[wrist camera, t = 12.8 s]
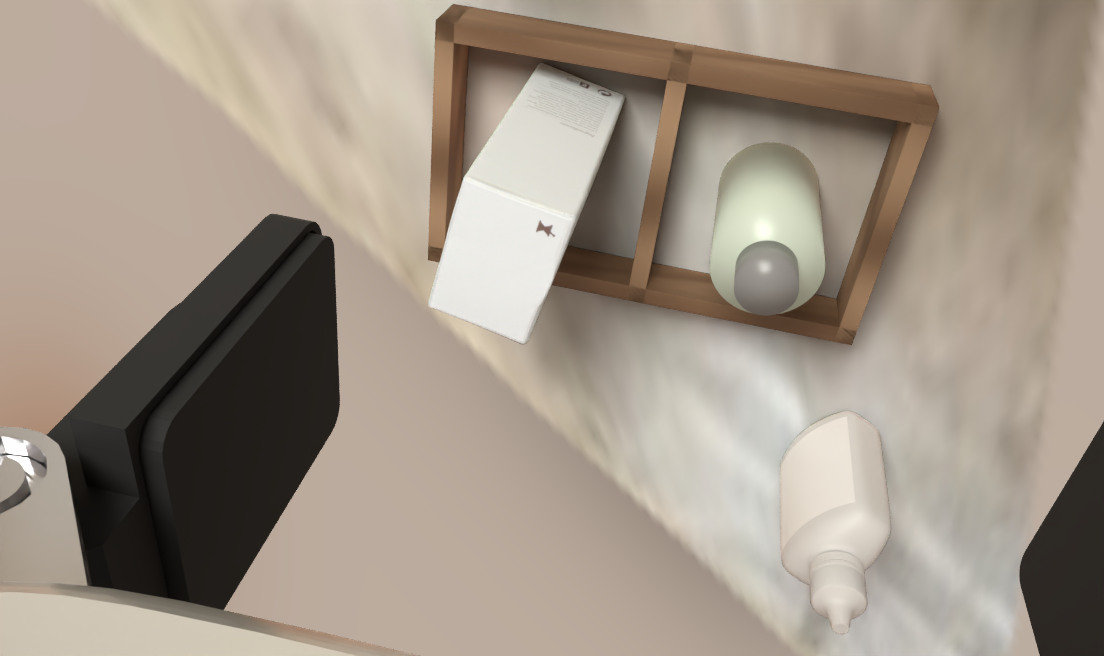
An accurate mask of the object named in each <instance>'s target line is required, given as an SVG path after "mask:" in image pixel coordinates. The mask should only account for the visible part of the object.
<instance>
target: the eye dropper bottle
mask: <svg viewBox="0 0 1104 656" xmlns="http://www.w3.org/2000/svg"><path fill="white" fill-rule="evenodd" d="M890 533H891V517H890V507H889V499H888V492H887V484H886V477H885V469H884V462H883V455H882V448H881V441H880V434H879V431H878V430H877V429H876V427H875V426H873V425H872V424H871V423H869V422H868V421H866V420H865V419H864V418H862V417H861V416H859V415H858V414H856V413H854V412H851V411H843V412H839V413H836V414H833V415H831V416H828V417H826V418H824V419H822V420H820V421H818V422H816V423H814V424H813V425H811V426H810V427H808V428H807V429H805V430H804V431H803V432H802V433H801V434H800V435H799V436H797V438H796V439H795V440H794V441H793V442H792V443H791V445H790V446H789V447H788V449H787V451H786V452H785V454H784V456H783V458H782V461H781V464H780V535H781V559H782V564H783V566H784V568H785V569H786V570H787V571H788V572H789V573H790V574H791V575H792V576H794V577H795V578H797V579H798V580H800V581H801V582H803V583H805V584H807V585H810V603H811V605H812V607H813V609H814V610H815V611H816V612H817V613H818V614H820V615H821V616H823V617H825V618H828V619H829V620H830V624H831V627H832V630H833V631H834V632H835V633H837V634H845V633H847V632H848V631H849V627H850V621H851V619H853V618H856V617H858V616H859V615H861V614H862V613H863V612H864V611H865V609H866V607H867V592H866V582H865V572H864V571H865V570H866V569H867V568H868V567H869V566H870V565H871V564H872V563H873V562H874V561H875V560H876V558H877V557H878V556H879V554H880V553H881V551H882V550H883V548H884V546H885V545H886V543H887V541H888V538H889V536H890Z"/></svg>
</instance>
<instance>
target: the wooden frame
mask: <svg viewBox="0 0 1104 656" xmlns="http://www.w3.org/2000/svg"><path fill="white" fill-rule="evenodd" d="M469 46H474V47H480V48H486V49H492V50H497V51H503V52H509V53H514V54H520V55H526V56H532V57H537V58H543V59H549V60H554V61H560V62H566V63H571V64H577V65H583V66H589V67H594V68H600V69H606V70H611V71H617V72H623V73H629V74H634V75H640V76H646V77H651V78H657V79H663V80H667V84H666V89H665V95H664V100H663V105H662V111H661V116H660V122H659V127H658V132H657V138H656V143H655V149H654V154H653V160H652V165H651V170H650V176H649V181H648V187H647V192H646V197H645V203H644V208H643V214H642V219H641V224H640V230H639V235H638V241H637V246H636V251H635V257H634V259H631V258H625V257H620V256H615V255H610V254H605V253H600V252H595V251H590V250H585V249H580V248H574V247H569V246H567V248H566V250H565V253H564V255H563V258H562V260H561V263H560V265H559V268H558V270H557V273H556V275H555V278H554V280H553V283H552V285H555V286H560V287H565V288H570V289H575V290H580V291H585V292H590V293H595V294H600V295H605V296H610V297H615V298H620V299H625V300H630V301H635V302H640V303H645V304H650V305H654V306H659V307H664V308H669V309H674V310H679V311H684V312H689V313H694V314H699V315H704V316H709V317H714V318H719V319H724V320H729V321H734V322H739V323H744V324H749V325H754V326H759V327H764V328H769V329H774V330H779V331H784V332H789V333H794V334H799V335H804V336H809V337H814V338H819V339H824V340H829V341H834V342H839V343H844V344H849V345H852V343H853V340H854V338H855V335H856V332H857V329H858V327H859V324H860V321H861V319H862V316H863V313H864V311H865V308H866V305H867V302H868V300H869V297H870V294H871V292H872V289H873V286H874V283H875V281H876V278H877V275H878V273H879V270H880V267H881V265H882V262H883V259H884V256H885V254H886V251H887V248H888V246H889V243H890V240H891V237H892V235H893V232H894V229H895V227H896V224H897V221H898V218H899V216H900V213H901V210H902V208H903V205H904V202H905V200H906V197H907V194H908V191H909V189H910V186H911V183H912V181H913V178H914V175H915V172H916V170H917V167H918V164H919V162H920V159H921V156H922V153H923V151H924V148H925V145H926V143H927V140H928V137H929V135H930V132H931V129H932V126H933V124H934V121H935V118H936V116H937V113H938V110H939V105H938V103H937V100H936V98H935V95H934V93H933V90H932V87H931V86H930V85H924V84H918V83H912V82H906V81H900V80H894V79H889V78H883V77H877V76H871V75H865V74H859V73H853V72H848V71H842V70H836V69H830V68H824V67H818V66H812V65H807V64H801V63H795V62H789V61H783V60H777V59H771V58H766V57H760V56H754V55H748V54H742V53H736V52H731V51H725V50H719V49H713V48H707V47H701V46H695V45H690V44H684V43H678V42H672V41H666V40H660V39H654V38H649V37H643V36H637V35H631V34H625V33H619V32H613V31H608V30H602V29H596V28H590V27H584V26H578V25H573V24H567V23H561V22H555V21H549V20H543V19H537V18H532V17H526V16H520V15H514V14H508V13H502V12H496V11H491V10H485V9H479V8H473V7H467V6H461V5H455V4H453V5H452V6H451V7H450V8H448V9H447V10H446V11H445V12H444V13H443V14H442V15H441V16H440V17H439V18H438V19H437V20H436V31H435V62H434V92H433V123H432V154H431V184H430V215H429V246H428V260H430V261H435V262H440V259H441V255H442V252H443V248H444V244H445V240H446V236H447V232H448V228H449V224H450V220H451V217H452V213H453V210H454V207H455V203H456V200H457V197H458V194H459V191H460V188H461V181H462V163H463V145H464V126H465V108H466V89H467V71H468V52H469ZM687 84H691V85H697V86H703V87H708V88H714V89H720V90H725V91H731V92H737V93H743V94H748V95H754V96H760V97H765V98H771V99H777V100H783V101H788V102H794V103H800V104H805V105H811V106H817V107H822V108H828V109H834V110H840V111H845V112H851V113H857V114H862V115H868V116H874V117H880V118H885V119H891V120H897V121H898V122H897V125H896V128H895V130H894V133H893V136H892V139H891V142H890V145H889V148H888V151H887V154H886V157H885V159H884V162H883V165H882V168H881V171H880V174H879V177H878V180H877V183H876V186H875V189H874V191H873V194H872V197H871V200H870V203H869V206H868V209H867V212H866V215H865V218H864V220H863V223H862V226H861V229H860V232H859V235H858V238H857V241H856V244H855V247H854V249H853V252H852V255H851V258H850V261H849V264H848V267H847V270H846V273H845V276H844V278H843V281H842V284H841V287H840V290H839V293H838V296H837V299H835V298H829V297H824V296H819V295H813V296H812V297H811V298H810V299H809V300H808V301H807V302H805V303H804V304H803V305H801V306H799V307H797V308H795V309H793V310H791V311H788V312H785V313H780V314H776V315H769V316H763V315H757V314H753V313H749V312H746V311H743V310H740V309H738V308H736V307H734V306H733V305H731V304H730V303H728V302H727V301H726V300H725V299H724V298H723V297H722V296H721V295H720V294H719V293H718V291H717V290H716V288H715V286H714V284H713V282H712V279H711V275H710V274H707V273H702V272H697V271H692V270H687V269H682V268H676V267H671V266H666V265H661V264H656V263H652V259H653V254H654V249H655V244H656V239H657V234H658V229H659V224H660V219H661V214H662V209H663V204H664V199H665V194H666V189H667V184H668V179H669V174H670V169H671V164H672V159H673V154H674V149H675V143H676V138H677V133H678V128H679V123H680V118H681V113H682V108H683V103H684V98H685V93H686V88H687Z"/></svg>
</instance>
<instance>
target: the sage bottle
mask: <svg viewBox="0 0 1104 656" xmlns="http://www.w3.org/2000/svg"><path fill="white" fill-rule="evenodd" d="M824 273H825V255H824V243H823V231H822V219H821V208H820V196H819V184H818V177H817V173H816V170H815V168H814V166H813V165H812V163H811V162H810V160H809V159H808V158H807V157H806V156H805V155H804V154H803V153H801V152H800V151H799V150H797V149H795V148H793V147H791V146H788V145H785V144H781V143H760V144H756V145H753V146H750V147H747V148H746V149H744V150H742V151H740V152H739V153H737V154H736V155H735V156H734V157H733V158H732V159H731V160H730V161H729V162H728V163H727V165H726V166H725V168H724V170H723V172H722V174H721V178H720V182H719V190H718V198H717V206H716V215H715V223H714V231H713V240H712V248H711V256H710V275H711V279H712V282H713V284H714V286H715V288H716V290H717V291H718V293H719V294H720V295H721V296H722V297H723V298H724V299H725V300H726V301H727V302H728V303H730V304H731V305H733V306H734V307H736V308H738V309H740V310H743V311H746V312H749V313H753V314H757V315H763V316H769V315H776V314H780V313H785V312H788V311H791V310H793V309H795V308H797V307H799V306H801V305H803V304H804V303H805V302H807V301H808V300H809V299H810V298H811V297H812V296H813V295H814V294H815V293H816V291H817V290H818V288H819V287H820V285H821V283H822V280H823V277H824Z"/></svg>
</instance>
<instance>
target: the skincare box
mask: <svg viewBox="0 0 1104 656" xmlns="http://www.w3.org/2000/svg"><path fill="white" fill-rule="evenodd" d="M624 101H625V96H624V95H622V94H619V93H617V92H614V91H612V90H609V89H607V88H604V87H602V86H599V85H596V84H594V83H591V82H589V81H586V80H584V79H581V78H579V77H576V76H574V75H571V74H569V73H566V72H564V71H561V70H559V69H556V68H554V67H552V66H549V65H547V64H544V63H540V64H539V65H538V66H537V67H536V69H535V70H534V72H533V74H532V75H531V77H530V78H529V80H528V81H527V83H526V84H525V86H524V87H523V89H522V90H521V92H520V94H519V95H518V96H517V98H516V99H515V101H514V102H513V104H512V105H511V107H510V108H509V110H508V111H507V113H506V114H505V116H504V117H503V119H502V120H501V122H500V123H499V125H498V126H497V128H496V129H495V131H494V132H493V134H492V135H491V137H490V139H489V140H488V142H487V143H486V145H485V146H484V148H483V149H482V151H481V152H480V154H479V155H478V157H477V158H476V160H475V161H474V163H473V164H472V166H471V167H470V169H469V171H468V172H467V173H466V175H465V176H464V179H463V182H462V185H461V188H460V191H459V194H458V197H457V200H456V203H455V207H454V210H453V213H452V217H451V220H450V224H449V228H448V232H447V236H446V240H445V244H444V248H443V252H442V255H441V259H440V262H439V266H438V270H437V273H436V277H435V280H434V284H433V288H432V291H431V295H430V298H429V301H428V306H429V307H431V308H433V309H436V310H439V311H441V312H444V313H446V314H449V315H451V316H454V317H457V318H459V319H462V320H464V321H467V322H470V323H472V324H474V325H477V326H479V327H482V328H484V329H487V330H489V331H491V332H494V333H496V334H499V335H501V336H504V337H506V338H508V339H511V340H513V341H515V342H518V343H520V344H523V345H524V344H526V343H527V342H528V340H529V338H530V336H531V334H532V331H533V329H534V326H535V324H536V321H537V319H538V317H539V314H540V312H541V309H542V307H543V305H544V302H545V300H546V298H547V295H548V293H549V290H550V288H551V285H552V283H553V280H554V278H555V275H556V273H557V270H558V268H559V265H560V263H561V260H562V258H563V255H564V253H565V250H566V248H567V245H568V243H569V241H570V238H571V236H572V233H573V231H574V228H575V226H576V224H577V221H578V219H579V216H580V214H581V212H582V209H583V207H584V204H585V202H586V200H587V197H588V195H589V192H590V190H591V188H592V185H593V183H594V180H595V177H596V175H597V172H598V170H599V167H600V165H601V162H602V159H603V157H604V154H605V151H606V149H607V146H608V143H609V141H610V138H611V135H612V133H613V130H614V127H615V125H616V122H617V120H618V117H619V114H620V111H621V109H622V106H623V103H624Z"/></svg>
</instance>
